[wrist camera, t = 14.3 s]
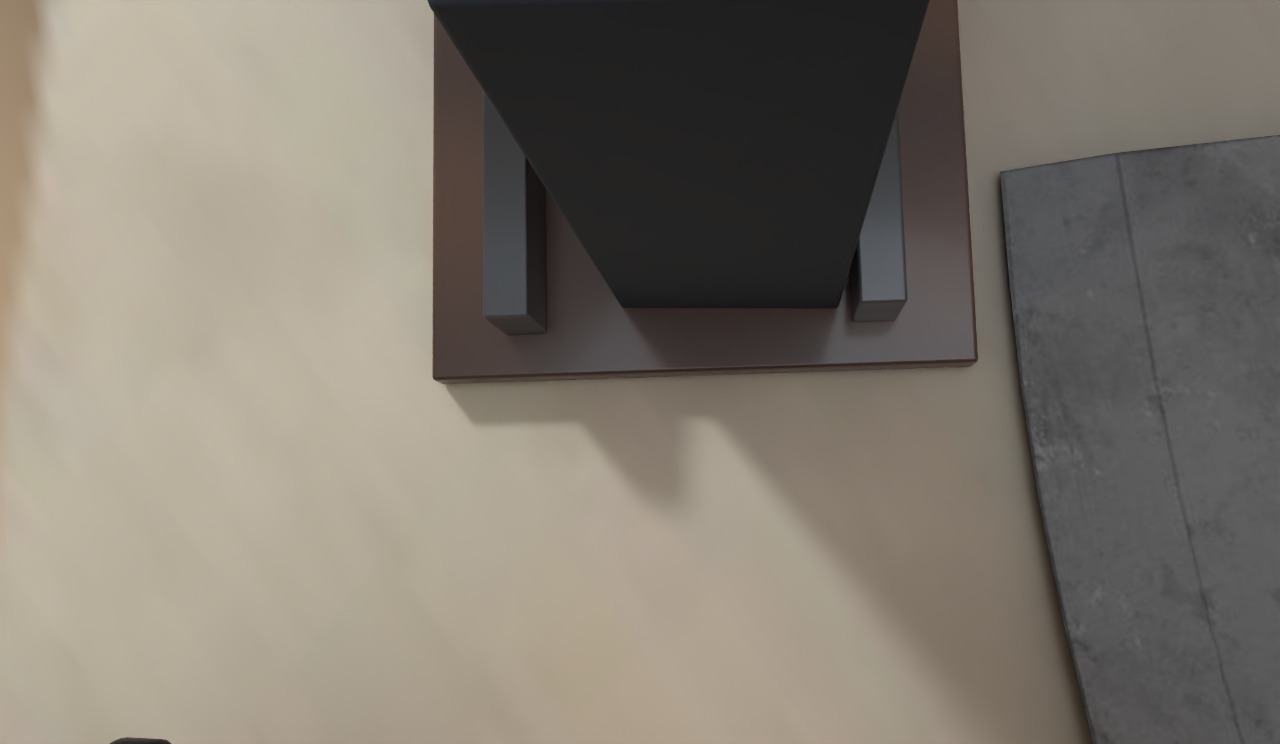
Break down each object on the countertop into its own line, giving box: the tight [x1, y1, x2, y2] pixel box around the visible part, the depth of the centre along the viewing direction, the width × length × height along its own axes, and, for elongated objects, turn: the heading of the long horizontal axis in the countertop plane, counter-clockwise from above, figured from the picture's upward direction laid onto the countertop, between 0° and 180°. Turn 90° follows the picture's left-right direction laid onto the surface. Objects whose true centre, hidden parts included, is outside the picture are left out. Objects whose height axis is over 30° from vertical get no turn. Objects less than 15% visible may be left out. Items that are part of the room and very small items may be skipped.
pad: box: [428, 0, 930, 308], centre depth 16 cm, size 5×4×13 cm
